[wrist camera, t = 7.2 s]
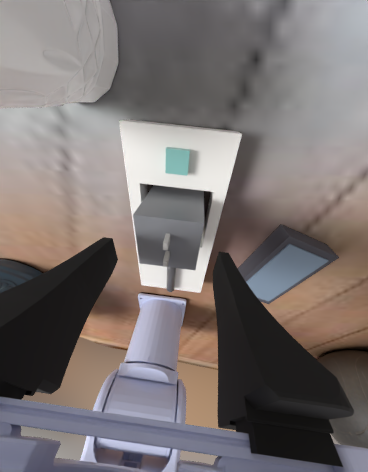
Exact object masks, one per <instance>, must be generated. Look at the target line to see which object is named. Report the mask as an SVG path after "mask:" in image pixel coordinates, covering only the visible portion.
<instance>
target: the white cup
mask: <svg viewBox="0 0 368 472" xmlns="http://www.w3.org/2000/svg"><path fill="white" fill-rule="evenodd" d="M118 63H119V60H118V30H117V23H116V20H115V17H114V13H113V10H112V7H111V4H110V0H0V109H1V108H36V107H39V108H42V107H49V106H63V105H64V104H67V103H90V102H95V101H97V100H98V99H99V98H100V97H101V96H102V95H104V94H105V93H106V92H107V91H108V90H110V88H111V85H112V82H113V79H114V76H115V73H116V70H117V67H118Z"/></svg>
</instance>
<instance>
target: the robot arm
mask: <svg viewBox="0 0 368 472" xmlns="http://www.w3.org/2000/svg"><path fill="white" fill-rule="evenodd" d="M117 260H118V259H117V255H116V251H115V247H114V243H113V239H112V238H102V239H100V240H99V241H97V242H95V243H94V244H92V245H91V246H89V247H88V248H86V249H84V250H83V251H81V252H80V253H78V254H77V255H75V256H73V257H72V258H70V259H68V260H67V261H65V262H63V263H61V264H60V265H58V266H56V267H55V268H53V269H51V270H49V271H47V272H45V273H43V274H41V275H39V276H37V277H35V278H33V279H31V280H29V281H27V282H24V283H22V284H20V285H18V286H15V287H13V288H11V289H9V290H6V291H4V292H2V293H0V472H368V449H367V448H361V447H354V446H347V445H338V444H334V443H333V440H332V438H331V435H330V433H331V434H333V433H334V431H333V428H332V426H331V423H330V421H329V419H336V418H344V417H350V416H352V415H353V414H354V409H353V408H352V406H351V404H350V402H349V400H348V398H347V396H346V394H345V392H344V390H343V388H342V386H341V384H340V383H339V381H338V379H337V377H336V376H334V375H333V374H332V373H331V372H330V371H329V370H328V369H326V368H325V367H324V366H323V365H322V364H321V363H320V362H319V361H317V360H316V359H315V358H314V357H313V356H312V355H311V354H310V353H308V352H307V351H306V350H305V349H304V348H303V347H302V346H301V345H300V344H299V343H298V342H297V341H296V340H295V339H294V338H293V337H292V336H291V335H290V334H289V333H288V332H287V331H286V330H285V329H284V328H283V327H282V326H281V325H280V324H279V323H278V322H277V321H276V320H275V318H274V317H273V316H272V315H271V314H270V313H269V312H268V310H267V309H266V308H265V307H264V306H263V304H262V303H261V302H260V301H259V299H258V298H257V297H256V295H255V294H254V293H253V291H252V290H251V289H250V287H249V286H248V284H247V283H246V281H245V280H244V278H243V277H242V275H241V274H240V272H239V270H238V269H237V267H236V265H235V264H234V262H233V260H232V258H231V256H230V255H229V253H224V252H219V254H218V257H217V261H216V264H215V267H214V270H213V290H214V299H215V307H216V315H217V326H218V427H219V428H225V429H233V430H236V432H234V431H227V430H221V429H214V428H207V427H200V426H194V425H187V424H185V416H186V389H185V387H184V384H183V382H182V380H180V379H178V372H177V371H176V369H177V359H178V350H179V340H180V330H181V326H182V324H183V319H184V313H185V307H186V299H182V298H174V297H166V296H159V295H151V294H144V293H139V294H138V300H139V305H140V313H139V317H138V320H137V323H136V326H135V329H134V332H133V336H132V339H131V342H130V345H129V348H128V351H127V355H126V358H125V361H124V363H121V364H120V367H119V370H118V369H115V370H114V371H113V372H112V373H110V374H109V375H108V377H107V378H106V380H105V381H104V384H103V385H102V388H101V390H100V392H99V395H98V397H97V400H96V403H95V405H94V408H93V410H86V409H79V408H73V407H66V406H59V405H53V404H46V403H39V402H32V401H25V400H21V399H22V398H23V396H24V395H30V396H33V395H34V393H35V392H41V393H48V394H52V393H53V392H55V391H56V390H57V389H59V388H60V386H61V383H62V380H63V377H64V374H65V371H66V368H67V366H68V363H69V360H70V358H71V355H72V353H73V350H74V348H75V345H76V343H77V340H78V338H79V336H80V333H81V331H82V329H83V327H84V324H85V322H86V320H87V318H88V316H89V313H90V311H91V309H92V307H93V305H94V304H95V302H96V300H97V298H98V297H99V295H100V293H101V292H102V290H103V288H104V286H105V285H106V283H107V281H108V280H109V278H110V276H111V274H112V272H113V270H114V268H115V265H116V263H117ZM21 426H27V427H33V428H40V429H46V430H53V431H59V432H66V433H72V434H78V435H85V436H87V438H86V442H85V446H84V450H83V453H82V456H81V459H80V461H79V460H70V459H62V458H55V456H56V453H57V451H58V449H59V446H60V441H56V440H52V439H47V438H40V437H28V436H21ZM181 450H183V451H190V452H196V453H203V454H210V455H216V456H218V457H217V458H216V459H215V462H214V465H210V464H206V463H201V462H194V461H184V460H179V459H180V452H181Z"/></svg>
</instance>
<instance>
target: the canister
mask: <svg viewBox="0 0 368 472" xmlns="http://www.w3.org/2000/svg"><path fill="white" fill-rule="evenodd" d="M41 274H43V273H42V272H40V271H38V270H36V269H34V268H32V267H30V266H27V265H24V264H22V263H19V262H15V261H11V260H5V259H0V293H2V292H4V291H6V290H9V289H11V288H13V287H15V286H18V285H20V284H22V283H24V282H27V281H29V280H31V279H33V278H35V277H37V276H39V275H41Z"/></svg>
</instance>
